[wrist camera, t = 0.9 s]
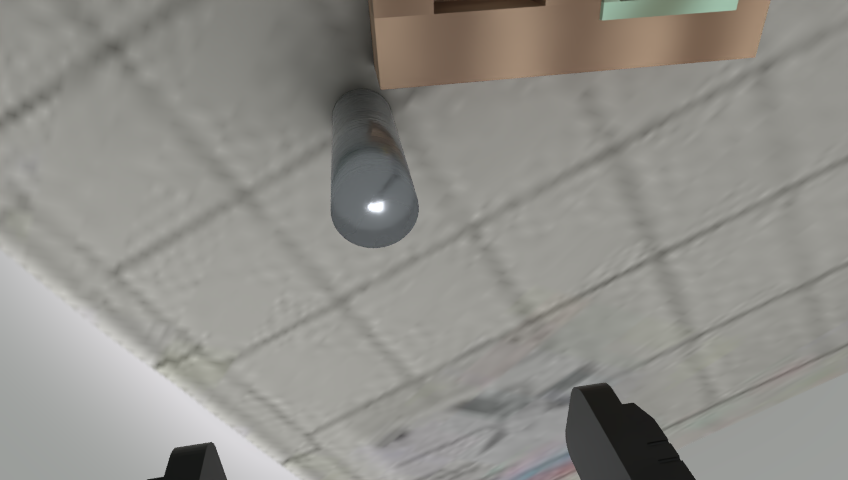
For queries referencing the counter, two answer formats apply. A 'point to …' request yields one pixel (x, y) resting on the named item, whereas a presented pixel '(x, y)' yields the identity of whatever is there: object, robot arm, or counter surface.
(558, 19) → the bore block
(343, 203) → the pin
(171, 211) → the counter surface
